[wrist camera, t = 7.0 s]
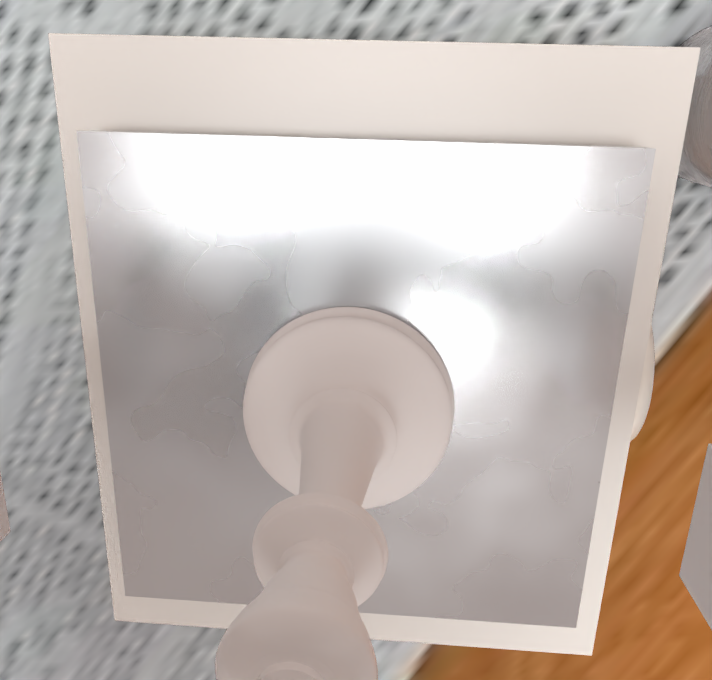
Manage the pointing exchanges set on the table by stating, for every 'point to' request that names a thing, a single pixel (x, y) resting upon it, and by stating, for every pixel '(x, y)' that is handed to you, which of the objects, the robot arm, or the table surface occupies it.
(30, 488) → the table surface
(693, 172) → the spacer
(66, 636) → the table surface
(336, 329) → the chess piece
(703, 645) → the table surface
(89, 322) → the scale
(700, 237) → the table surface
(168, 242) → the textured square plate
